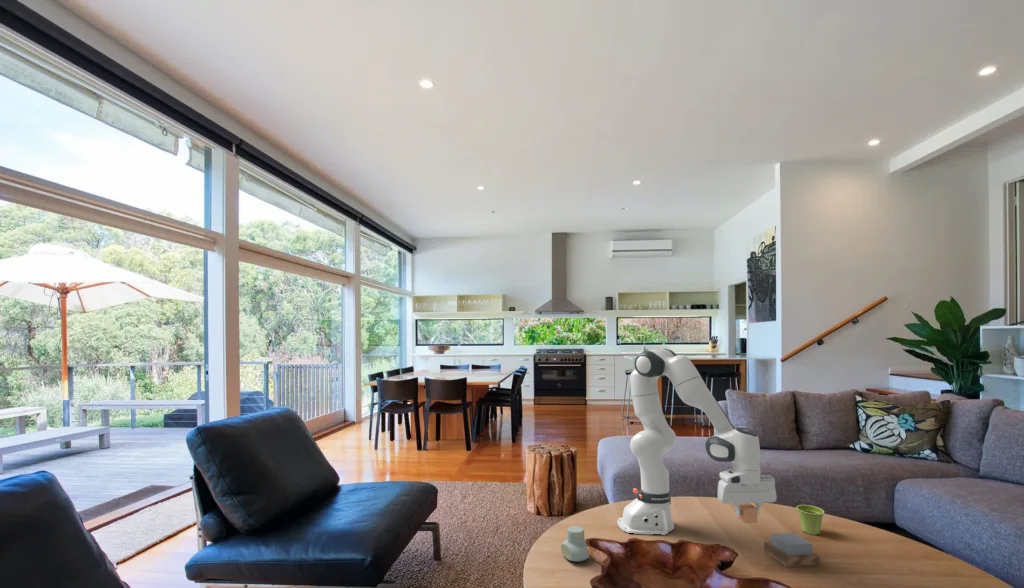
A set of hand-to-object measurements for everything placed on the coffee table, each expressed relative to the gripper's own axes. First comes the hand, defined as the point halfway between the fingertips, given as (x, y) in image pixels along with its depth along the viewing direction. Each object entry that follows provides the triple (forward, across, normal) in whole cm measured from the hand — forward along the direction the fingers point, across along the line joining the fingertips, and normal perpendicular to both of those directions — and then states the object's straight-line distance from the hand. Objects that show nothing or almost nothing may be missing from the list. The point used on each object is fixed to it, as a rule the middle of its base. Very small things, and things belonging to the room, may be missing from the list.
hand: (747, 514), depth 174 cm
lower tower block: (+15, -14, +3) cm, 21 cm away
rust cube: (+2, 0, 0) cm, 2 cm away
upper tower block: (+11, -14, +3) cm, 18 cm away
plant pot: (+14, -35, -16) cm, 42 cm away
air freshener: (+15, +61, -4) cm, 63 cm away
